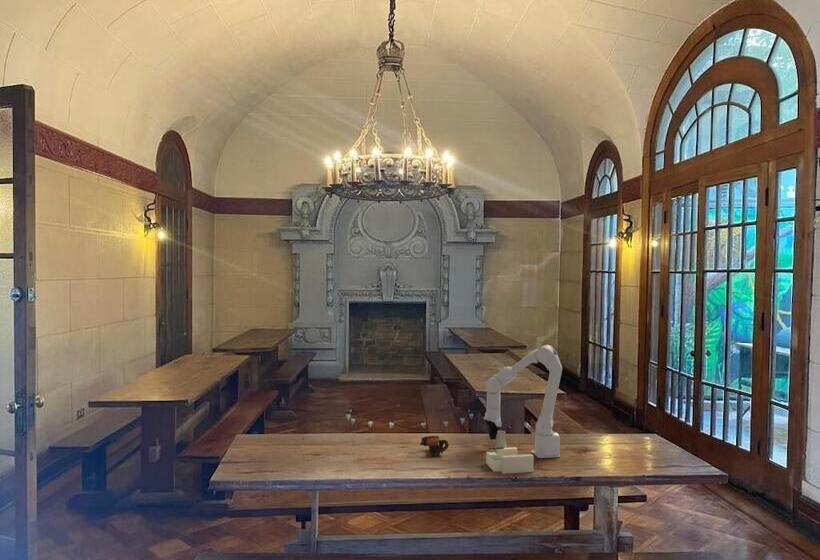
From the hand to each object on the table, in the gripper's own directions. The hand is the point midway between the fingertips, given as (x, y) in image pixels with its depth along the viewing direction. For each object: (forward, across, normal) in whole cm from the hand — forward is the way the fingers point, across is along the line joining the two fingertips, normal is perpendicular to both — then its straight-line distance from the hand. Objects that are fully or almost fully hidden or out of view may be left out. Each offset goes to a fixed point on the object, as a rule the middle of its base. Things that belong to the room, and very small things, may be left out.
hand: (492, 439), depth 242 cm
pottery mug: (+4, +2, -26) cm, 26 cm away
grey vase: (+4, +10, 0) cm, 11 cm away
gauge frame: (+4, +22, -1) cm, 22 cm away
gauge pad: (+4, +16, -2) cm, 17 cm away
